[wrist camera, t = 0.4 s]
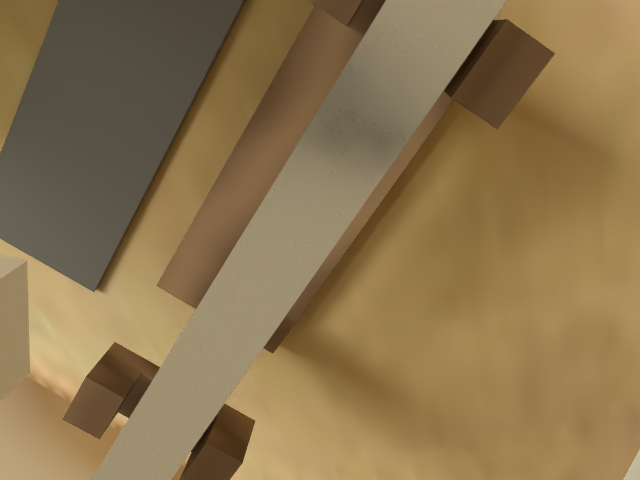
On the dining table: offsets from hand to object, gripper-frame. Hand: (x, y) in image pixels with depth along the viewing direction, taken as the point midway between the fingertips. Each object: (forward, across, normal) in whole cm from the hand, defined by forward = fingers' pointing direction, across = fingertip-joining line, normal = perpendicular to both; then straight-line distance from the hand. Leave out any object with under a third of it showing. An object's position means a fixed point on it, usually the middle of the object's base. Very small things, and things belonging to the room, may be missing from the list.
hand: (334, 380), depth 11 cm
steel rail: (+12, -3, -3) cm, 13 cm away
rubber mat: (+27, -16, +2) cm, 31 cm away
